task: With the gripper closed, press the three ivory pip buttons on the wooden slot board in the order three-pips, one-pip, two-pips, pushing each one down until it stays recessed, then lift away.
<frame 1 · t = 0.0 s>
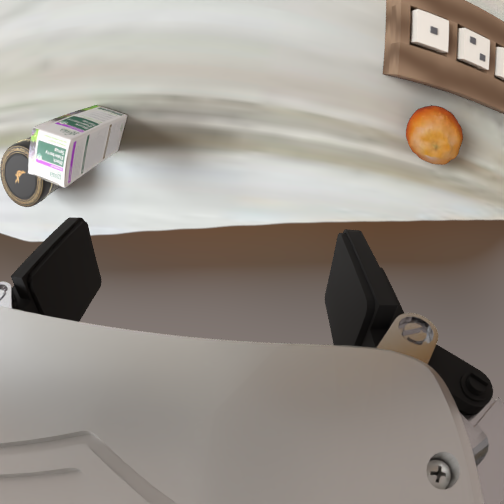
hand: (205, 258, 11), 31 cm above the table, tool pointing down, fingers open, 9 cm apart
button 1: (430, 31, 24), point 5 cm above the table, slide at 0.0 cm
fruit: (421, 128, 36), on the table
button 2: (473, 48, 24), point 5 cm above the table, slide at 0.0 cm
wooden slot board: (453, 49, 29), on the table
syrup box: (107, 128, 38), on the table
jar: (49, 159, 40), on the table
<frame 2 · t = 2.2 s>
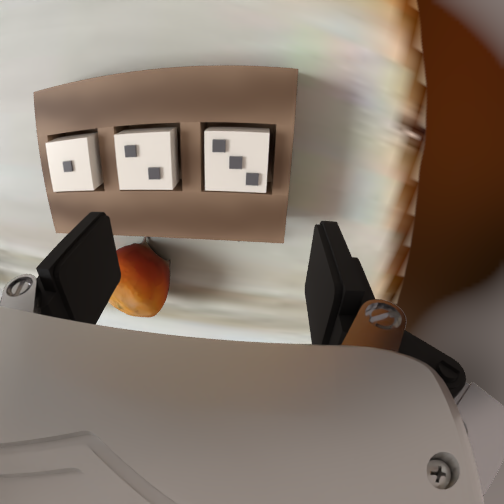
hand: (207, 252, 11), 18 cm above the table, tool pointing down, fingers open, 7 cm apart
button 1: (73, 162, 22), point 5 cm above the table, slide at 0.0 cm
fruit: (144, 262, 34), on the table
button 2: (146, 158, 22), point 5 cm above the table, slide at 0.0 cm
wooden slot board: (165, 144, 27), on the table
button 3: (237, 158, 22), point 5 cm above the table, slide at 0.0 cm
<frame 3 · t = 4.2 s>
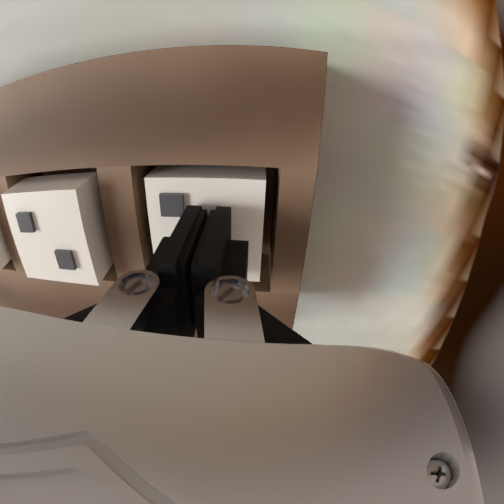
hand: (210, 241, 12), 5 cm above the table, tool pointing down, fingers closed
button 2: (56, 229, 12), point 5 cm above the table, slide at 0.0 cm
wooden slot board: (102, 187, 16), on the table
button 3: (208, 222, 13), point 4 cm above the table, slide at 1.1 cm, touching gripper
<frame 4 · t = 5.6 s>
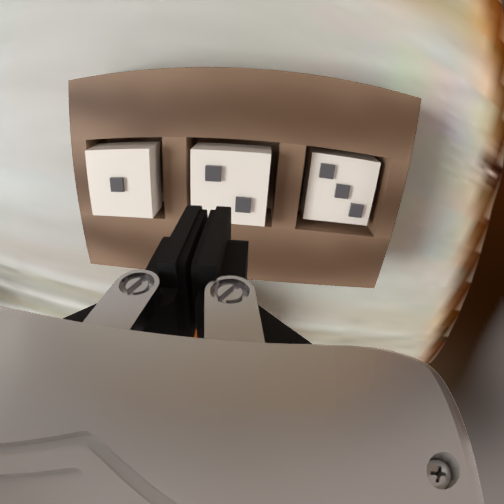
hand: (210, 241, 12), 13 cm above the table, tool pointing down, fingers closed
button 1: (123, 179, 18), point 5 cm above the table, slide at 0.0 cm
button 2: (230, 183, 18), point 5 cm above the table, slide at 0.0 cm
wooden slot board: (237, 162, 23), on the table
button 3: (339, 186, 20), point 3 cm above the table, slide at 1.6 cm
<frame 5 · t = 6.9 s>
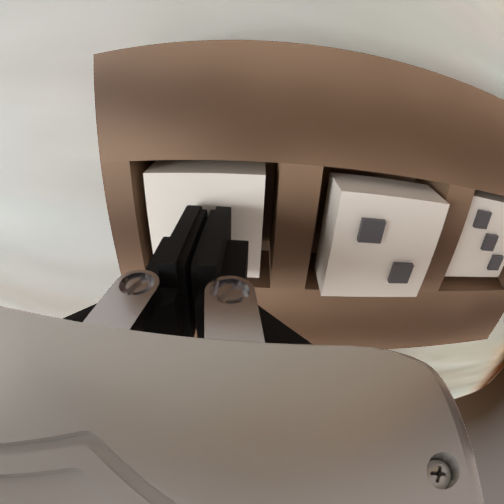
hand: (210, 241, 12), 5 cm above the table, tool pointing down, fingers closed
button 1: (207, 218, 13), point 4 cm above the table, slide at 1.0 cm, touching gripper
button 2: (379, 239, 12), point 5 cm above the table, slide at 0.0 cm
wooden slot board: (349, 191, 16), on the table
button 3: (480, 232, 13), point 3 cm above the table, slide at 1.6 cm
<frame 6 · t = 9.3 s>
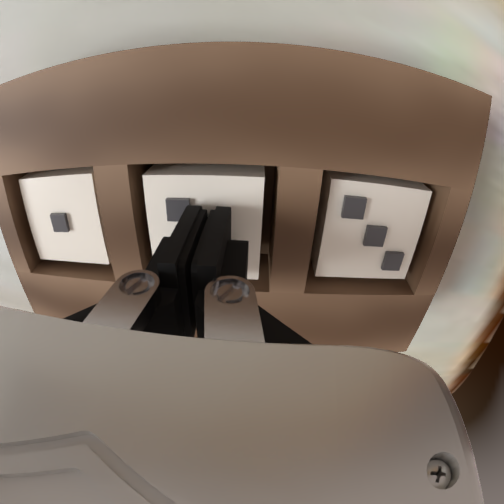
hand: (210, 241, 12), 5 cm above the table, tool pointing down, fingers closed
button 1: (70, 212, 13), point 3 cm above the table, slide at 1.6 cm
button 2: (206, 219, 13), point 4 cm above the table, slide at 1.2 cm, touching gripper
wooden slot board: (218, 186, 16), on the table
button 3: (368, 224, 13), point 3 cm above the table, slide at 1.6 cm
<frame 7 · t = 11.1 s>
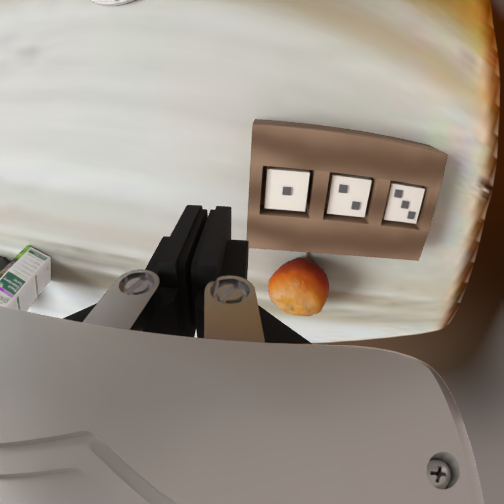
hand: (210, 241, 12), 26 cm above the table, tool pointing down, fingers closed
button 1: (286, 188, 34), point 3 cm above the table, slide at 1.6 cm
fruit: (297, 272, 44), on the table
button 2: (347, 194, 34), point 3 cm above the table, slide at 1.6 cm
wooden slot board: (341, 184, 36), on the table
button 3: (402, 201, 33), point 3 cm above the table, slide at 1.6 cm
syrup box: (40, 262, 46), on the table
jar: (7, 273, 48), on the table
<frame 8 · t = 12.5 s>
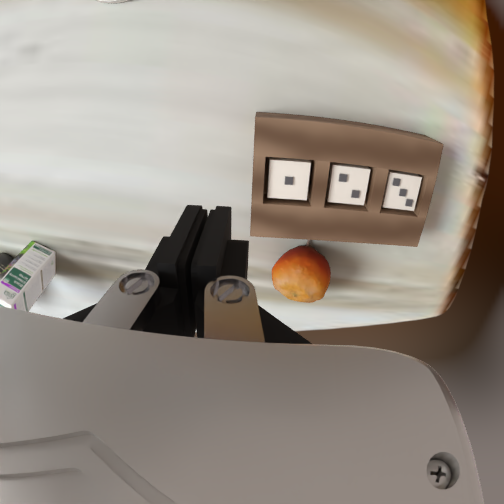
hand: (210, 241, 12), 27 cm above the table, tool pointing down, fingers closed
button 1: (288, 177, 35), point 3 cm above the table, slide at 1.6 cm
fruit: (299, 260, 45), on the table
button 2: (347, 183, 35), point 3 cm above the table, slide at 1.6 cm
wooden slot board: (340, 174, 37), on the table
button 3: (399, 189, 34), point 3 cm above the table, slide at 1.6 cm
syrup box: (44, 257, 47), on the table
jar: (11, 270, 49), on the table
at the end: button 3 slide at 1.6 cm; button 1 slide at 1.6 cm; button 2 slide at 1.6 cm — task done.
